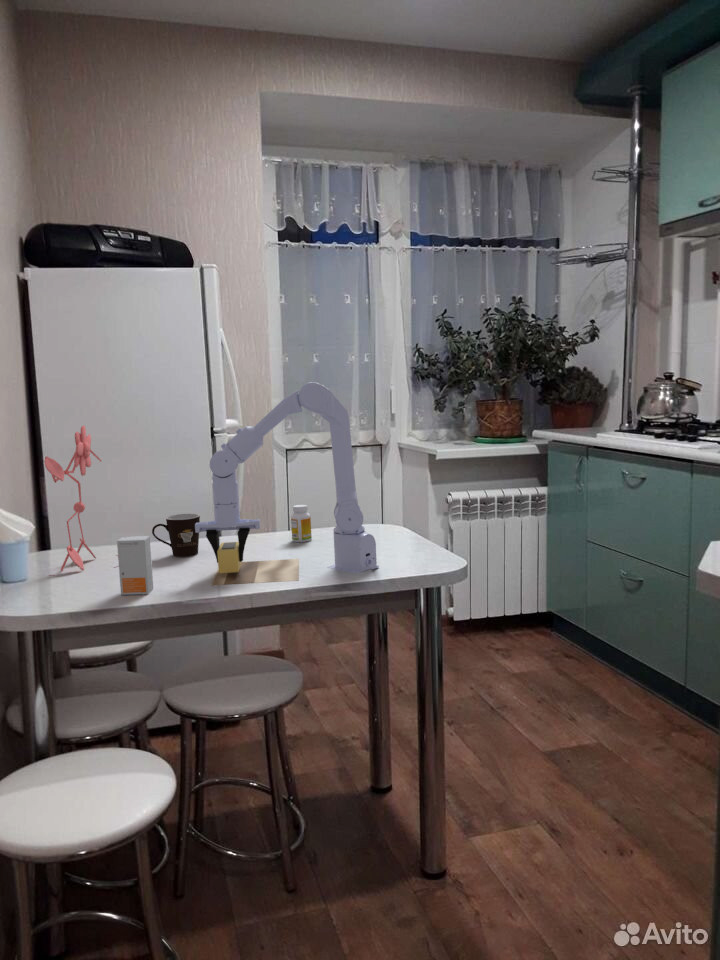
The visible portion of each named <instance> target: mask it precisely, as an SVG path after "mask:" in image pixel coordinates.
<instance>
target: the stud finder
mask: <svg viewBox="0 0 720 960" xmlns="http://www.w3.org/2000/svg"><path fill="white" fill-rule="evenodd" d="M219 545H220V547H219V549H218V551H217V554H218V563H217V566H218V567H217V570H218V569H219V573H230V572H239V569H240V566H241V563H242V562H243V561H241V562H239V541H231V542H230V541H229V542H227V541H226V542H221V543H220V544H219Z"/></svg>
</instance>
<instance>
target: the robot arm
mask: <svg viewBox="0 0 720 960" xmlns="http://www.w3.org/2000/svg"><path fill="white" fill-rule="evenodd" d="M302 408H304V409H305V410H307V411H309V412H312V413H316V414H318V415H319V416H320V417H321V418H323V419H324V420H325V421H326V422H328V423H329V431H330V442H331V451H332V452H331V453H332V461H333V462H332V464H333V472H334V481H335V482H334V483H335V494H336V503H335V504H336V505H335V507H334V510H333V517H334V520H335V524H336V526H335V527H334V528H333V549H334V550H333V551H334V564H333V565H329V566H327V567H326V568H327V569H331V570H338V571H343V572H348V573H354V574H359V573H362V572H364V571H365V572H366V571H368V570H375V569H378V568H379V567H380V565H378V564H377V562H378V561H377V542H376V539H375V537H374V535H372V533H371V534H370V533H368V532H367V531H366V530H365V526H363V524H364V515H363V512H362V510H361V507H360V505H359V504H358V503H359V501H358V496H357V491H356V490H357V488H356V480H355V479H356V478H355V468H354V457H353V447H352V437H351V426H350V416H349V415H350V414H349V412H348V410H347V408H346V407H345V406H344V405H343V404H342V403H341V401H340V400H339V399H338V398H337V396H335V394H334V393H333V392H332V391H331V390H330V389H329V388H328V387H326V386H324V385H323V384H320V383H319V382H316V381H315V382H314V381H310V382H307V383H305V384H304V385H302V387H300V390H299V389H297V390H296V391H294V392H291V393H290V394H289V395H287V396H286V397H284V398H283V399H282V400H281V401H279V402H278V404H277V405H275V406H274V407H273V408H272V409H271V410H270V412H268V413H267V414H266V415H265V416H264V417H263V418H261V420H260V421H258V423H256V425H254V426H249V425H246V426H244V427H243V428H242V427H239V428H238V429H237V430H236V434H235V435H234V436H233V437H231V439H230V440H229V441H228V442H226V443H225V442H224V443H222V444H221V445H220V448H221V449H220V450H217V451H215V452H214V454H213V455H212V456H211V457H210V460H209V469H210V470H211V472H212V476H211V480H212V483H211V485H212V500H213V514H214V515H213V516H214V520H213V521H212V520H211V521H204V522H203V521H202V522H200V523H196V524H195V532H196V533H198V532H199V533H202V532H203V533H204V532H206V534H205V537H206V539H207V541H208V542H209V544H210V545H211V548H212V550H213V553H214V556H215V559H216V563H217V564H218V554H217V551H218V549H219V547H220V545H221V544H220V531H223V532H224V531H236V530H237V538H238V539H237V540H238V541H237V542H239V562H241V561H242V562H244V552H245V547H246V542H247V539H248V537H249V534H250V531H251V530H254V529H255V530H261V519H257V518H256V519H247V518H246V519H245V518H244V519H241V514H240V513H241V511H240V498H239V482H238V479H237V471H236V469H237V468H238V465H239V464H243V463H244V462H246V461H247V460H248V459H249V458H250V457H251V456H253V455H254V454H255V453H256V452H257V451H258V450H259V449H260V448H261V447H263V445H264V437H265V436H266V435H267V434H268V433H269V432H271V431H272V430H273V429H274V428H275V427H276V426H278V425H280V423H281V422H282V421H284V420H285V419H286V418H287V417H289V415H292V414H297V413H300V412H303V409H302Z"/></svg>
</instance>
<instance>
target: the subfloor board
mask: <svg viewBox="0 0 720 960" xmlns="http://www.w3.org/2000/svg"><path fill="white" fill-rule="evenodd" d="M299 576H300V558H288V559H274V560H272V559H271V560H269V559H268V560H257V561H256V560H254V561H252V560H250V561H242V563H241V566H240V569H239V572H230V573H219V569H218V568H217V571H216V573H215V575H214V578H213V580H212V582H211V584H210V586H225V585H229V586H230V585H246V584H261V583H279V582H298V581H300V580H299V579H300V577H299Z"/></svg>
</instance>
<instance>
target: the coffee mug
mask: <svg viewBox="0 0 720 960" xmlns="http://www.w3.org/2000/svg"><path fill="white" fill-rule="evenodd" d="M200 517H201V515H200V514H198V513H178V514H172V515H169V516H165V521H166V524H164V523H158V524H155V525H154V526H153V527H152V530H151V533H152V536H153V537H154V538H155V539H156V540H157V541H159V542H161V543H163V544H165V545H167V546H169V547H170V548H171V552H172V556H173V557H176V558H189V557H195V556H197V555H199V542H200V539H199V538H200V532H198V533H196V532H195V524H196V523H201V522H200V521H201V520H200V519H201V518H200ZM158 527H163V528H164V529H166V531H167V532H168V536H169V542H167V541H165V540H163V539H161V538H160V537H158V536H157V535H156V534H155V529H157V528H158Z"/></svg>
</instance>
